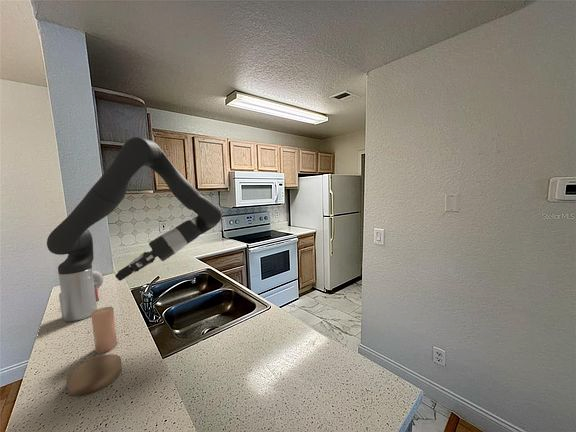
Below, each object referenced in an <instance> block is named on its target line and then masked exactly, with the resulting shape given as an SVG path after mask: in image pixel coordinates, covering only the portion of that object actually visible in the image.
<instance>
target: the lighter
mask: <svg viewBox="0 0 576 432" xmlns="http://www.w3.org/2000/svg"><path fill="white" fill-rule="evenodd" d="M93 280H94V281H95V279H94V278H93ZM94 288H95V296H96V303H97V302H99V301H100V297H99V292H98V289H97V283H96V282H94Z"/></svg>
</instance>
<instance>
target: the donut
mask: <svg viewBox="0 0 576 432" xmlns="http://www.w3.org/2000/svg"><path fill="white" fill-rule="evenodd" d="M92 272H93V278H94V279H95V281H94V282H96V283H97V290H98V289H99V288H100V287H102V285H103V283H104V277H103V274H102V273H101V272H99V271H98V270H92Z"/></svg>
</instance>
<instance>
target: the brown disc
mask: <svg viewBox="0 0 576 432" xmlns="http://www.w3.org/2000/svg"><path fill="white" fill-rule="evenodd" d="M122 370H123V366H122V358H121V356H120V355H118V354H113V353H111V354H103V355H99V356H96V357H94V358H91V359H89V360H87V361H84V362H83V363H81V364H80V365H78V366H76V367H75V368H74V369H73V370H71V372H70V373H69V374H68V375H67V377H66V388H67V393H68V394H69V395H70V396H73V397H81V396H82V397H83V396H87V395H91V394H93V393H97V392H98V391H100V390H102V389H103V388H107V387H108V386H109V385H111V383H113V382H114V381H115V380H116V379H118V378H119V376H120V375H121V373H122Z"/></svg>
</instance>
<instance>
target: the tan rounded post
mask: <svg viewBox="0 0 576 432" xmlns="http://www.w3.org/2000/svg"><path fill="white" fill-rule="evenodd" d="M90 317H91V325H92V332H93V333H92V334H93V341H94V348H95V350H94V351H95V353H96V354H103V353H107V352H110V351H112V350H114V348H116V347H117V346H118V337H117V330H116V321H115V311H114V307H113V306H105V307H100V308H97V310H95V311H93V312H92V313H91V316H90Z"/></svg>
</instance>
